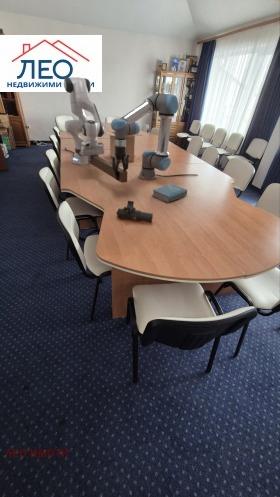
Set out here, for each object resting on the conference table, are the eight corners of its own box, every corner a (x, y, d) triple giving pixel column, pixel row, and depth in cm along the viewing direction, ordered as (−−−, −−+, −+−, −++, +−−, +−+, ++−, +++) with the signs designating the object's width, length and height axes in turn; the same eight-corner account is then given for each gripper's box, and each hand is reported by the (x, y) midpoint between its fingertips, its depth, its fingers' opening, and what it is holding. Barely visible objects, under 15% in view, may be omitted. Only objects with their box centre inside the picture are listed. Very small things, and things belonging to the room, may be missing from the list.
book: (170, 189, 184) (171, 183, 181) (186, 195, 175) (187, 189, 172) (152, 196, 171) (152, 189, 168) (168, 203, 162) (169, 196, 159)
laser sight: (150, 226, 134) (151, 211, 128) (114, 220, 137) (114, 205, 131) (152, 218, 142) (154, 204, 136) (119, 213, 144) (119, 199, 139)
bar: (127, 181, 162) (127, 171, 158) (121, 183, 160) (121, 172, 156) (93, 161, 198) (92, 153, 193) (88, 162, 195) (87, 153, 191)
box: (144, 162, 244) (146, 135, 228) (114, 165, 229) (114, 136, 213) (127, 152, 274) (128, 128, 258) (100, 154, 260) (99, 128, 243)
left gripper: (101, 141, 190) (102, 158, 198) (79, 143, 180) (81, 160, 188) (105, 143, 186) (105, 160, 194) (82, 144, 176) (84, 162, 184)
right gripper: (128, 143, 157) (127, 176, 171) (106, 145, 149) (107, 179, 163) (134, 145, 153) (133, 179, 167) (111, 148, 144) (112, 183, 158)
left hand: (93, 160), depth 191 cm, fingers closed on bar, 5 cm apart
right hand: (120, 179), depth 165 cm, fingers closed on bar, 5 cm apart
